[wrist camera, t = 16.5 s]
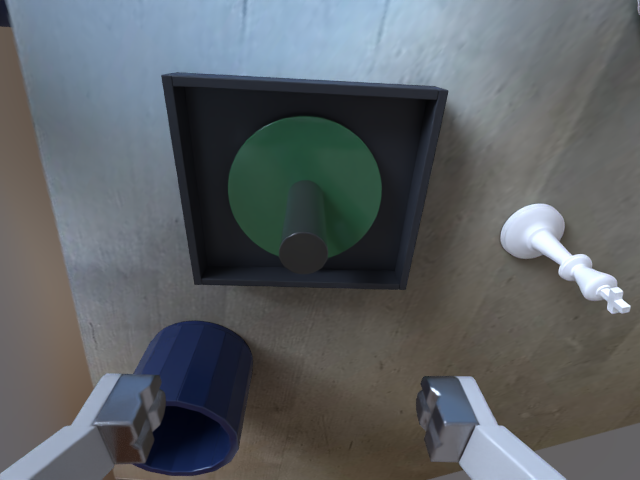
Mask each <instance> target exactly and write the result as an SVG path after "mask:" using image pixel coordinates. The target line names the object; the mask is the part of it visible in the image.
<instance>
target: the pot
mask: <svg viewBox="0 0 640 480" xmlns="http://www.w3.org/2000/svg"><path fill="white" fill-rule="evenodd" d="M252 367H253V357H252V353H251V350H250V348H249V347H248V345H247V344H246V342H245V341H244V340H243V339H242V338H241V337H240V336H238V335H237V334H236V333H234V332H233V331H231V330H229V329H227V328H225V327H223V326H220V325H218V324H214V323H210V322H204V321H185V322H179V323H175V324H173V325H170V326H168V327H166V328H164V329H163V330H161V331H160V332H159V333H158V334H157V335H156V336H155V337H154V339H153V340H152V341H151V342H150V344H149V346H148V348H147V349H146V351H145V353H144V355H143V357H142V358H141V360H140V362H139V364H138V366H137V368H136V369H135V371H134V373H133V374H144V375H160V378H161V381H162V383H161V386H160V389H161V390H163V391H164V392H165V396H166V407H165V412H164V416H163V419H162V422H161V424H160V426H158V427H157V428H156V429H155V430H154V431H153V432H152V433H153V436H154V442H153V445H152V447H151V450H150V453H149V455H148V458H147V460H146V463H139V464H133V465H135V466H137V467H140V468H142V469H144V470H146V471H150V472H155V473H160V474H165V475H171V476H194V475H200V474H204V473H208V472H213V471H216V470H218V469H219V468H221V467H223V466H224V465H226V464H228V463H229V462H231V461H232V459H233V457H234V456H235V454H236V453H237V451H238V449H239V444H240V439H241V433H242V428H243V422H244V416H245V411H246V405H247V400H248V394H249V389H250V383H251V377H252V372H253V368H252Z"/></svg>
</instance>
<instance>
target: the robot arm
mask: <svg viewBox="0 0 640 480" xmlns="http://www.w3.org/2000/svg"><path fill="white" fill-rule="evenodd" d="M161 383H162V381H161V378H160V375H144V374H105V375H104V376H103V377H102V378H101V379H100V380H99V382H98V383H97V385H96V387H95V388H94V390H93V391H92V393H91V395H90V396H89V398H88V400H87V401H86V403H85V404H84V406H83V407H82V409H81V411H80V412H79V414H78V415H77V417H76V418H75V420H74V422H73V423H72V425H71V426H65V427H63V428H62V429H61V430H59V431H58V432H56V433H55V434H54V435H52V436H51V437H50V438H49V439H47V440H46V441H44V442H43V443H42V444H40V445H39V446H37V447H36V448H35V449H33V450H32V451H31V452H29V453H28V454H27V455H25V456H24V457H22V458H21V459H20V460H18V461H17V462H16V463H14V464H13V465H11V466H10V467H9V468H8V469H6V470H5V471H3V472H2V473H1V474H0V480H102V479H103V478H104V477H105V476H106V475H107V473H108V472H109V471H110V470H111V469H112V468H113V467H114V464H139V463H146V460H147V458H148V455H149V453H150V450H151V447H152V445H153V442H154V436H153V433H152V432H153V431H154V430H155V429H156V428H157V427H158V426H160V424H161V422H162V419H163V416H164V412H165V407H166V396H165V392H164V391H163V390H161V389H160V386H161ZM421 387H422V390H421V391H420V392H419V393H418V394H417V398H416V412H417V417H418V421H419V424H420V425H421V426H422V428H423V429H424V430H425V431H426V434H425V437H424V441H425V444H426V448H427V451H428V454H429V457H430V461H431V462H459V465H460V466H461V467H462V468H463V470H464V471H465V472H466V473H467V474H468V476H469V477H470V478H471V479H472V480H567V479H566V478H565V477H563V476H562V475H561V474H560V473H559V472H558V471H556V470H555V469H554V468H553V467H552V466H550V465H549V464H548V463H547V462H546V461H544V460H543V459H542V458H541V457H540V456H539V455H537V454H536V453H535V452H534V451H533V450H532V449H530V448H529V447H528V446H527V445H526V444H524V443H523V442H522V441H521V440H520V439H518V438H517V437H516V436H515V435H514V434H513V433H511V432H510V431H509V430H508V429H507V428H505V427H504V426H498V424H497V422H496V420H495V418H494V416H493V414H492V412H491V410H490V408H489V406H488V404H487V402H486V400H485V398H484V396H483V394H482V393H481V391H480V389H479V387H478V385H477V383H476V381H475V379H474V378H473V377H472V376H424V377H423V378H422V381H421Z"/></svg>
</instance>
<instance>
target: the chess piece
mask: <svg viewBox="0 0 640 480" xmlns="http://www.w3.org/2000/svg"><path fill="white" fill-rule="evenodd" d="M564 229H565V223H564V219H563V217H562V215H561V214H560V213H559V212H558V211H557V210H556V209H555V208H554V207H552V206H550V205H547V204H533V205H529V206H526V207H524V208H522V209H520V210H518V211H517V212H515V213H514V214H513V215H512V216H511V217H510V218H509V219H508V220H507V221H506V223H505V224H504V226H503V228H502V231H501V236H500V240H501V244H502V246H503V248H504V249H505V250H506V251H507V252H508V253H510V254H511V255H513V256H515V257H517V258H522V259H530V258H535V257H538V256H541V255H545V256H547V257H548V258H550V259H551V260H553V261H555V262H556V263H557V264H559V265H560V268H559V275H560V277H561V278H563V279H565V280H568V281H576V282H577V284H578V285H579V287H580V290H581V292H582V294H583V296H584V297H585V298H586V299H588V300H590V301H600V300H603V299H605V300H606V301H608V305H607V310H608V311H609V312H611V313H612V314H615V313H619V312H621V313H626V312H630V307H631V306H630V305H628V304H627V303H626V302H625V301H623V300H622V296H623V291H622V290H621V289H620V288H618V287H617V280H616V279H615V278H614V277H613V276H611V275H609V274H606V273H602V272H599V271H596V270H594V269H591V268H592V261H591V260H590V258H589V257H588V256H586V255H583V254H577V255H573V256H572V255H571V254H570V253H569V252H568V251H567V250H566V248H565V247H564V246H563V245H562V244H561V243H560V242H559V241H560V239H561V237H562V235H563V233H564Z"/></svg>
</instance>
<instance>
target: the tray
mask: <svg viewBox="0 0 640 480" xmlns="http://www.w3.org/2000/svg"><path fill="white" fill-rule="evenodd" d="M161 76H162V83H163V89H164V95H165V102H166V108H167V114H168V121H169V127H170V133H171V140H172V146H173V152H174V158H175V165H176V171H177V177H178V184H179V190H180V196H181V203H182V209H183V215H184V222H185V228H186V234H187V240H188V247H189V253H190V259H191V266H192V272H193V278H194V284H195V285H234V286H273V287H313V288H352V289H391V290H398V289H399V290H406V286H407V281H408V277H409V272H410V267H411V263H412V258H413V253H414V249H415V244H416V239H417V235H418V230H419V225H420V221H421V216H422V212H423V207H424V202H425V198H426V193H427V188H428V184H429V179H430V174H431V170H432V165H433V160H434V156H435V151H436V146H437V142H438V137H439V133H440V128H441V123H442V119H443V114H444V109H445V105H446V100H447V95H448V90H445V89H442V88H439V87H435V86H420V85H401V84H382V83H364V82H345V81H326V80H308V79H289V78H271V77H252V76H233V75H215V74H196V73H178V72H177V73H170V74H165V75H161ZM296 115H311V116H319V117H323V118H327V119H330V120H333V121H335V122H338V123H340V124H342V125H343V126H345V127H347V128H348V129H350V130H351V131H352V132H354V133H355V134H356V135H357V136H358V137H359V138H360V139H361V140H362V141H363V142H364V143H365V144H366V146H367V147H368V148H369V150H370V151H371V153H372V155H373V157H374V158H375V160H376V163H377V165H378V168H379V171H380V176H381V181H382V197H381V203H380V208H379V211H378V213H377V216H376V218H375V220H374V222H373V224H372V226H371V227H370V229H369V230H368V232H367V233H366V234H365V235H364V236H363V237H362V238H361V239H360V240H359V241H358V242H357V243H356V244H355V245H353V246H352V247H350V248H349V249H348V250H346V251H344V252H342V253H340V254H338V255H335V256H333V257H330V258H327V261H326V263H325V264H324V266H323V267H322V268H320V269H319V270H318V271H316V272H313V273H310V274H297V273H294V272H292V271H290V270H288V269H287V268H286V267H285V266H284V265H283V264H282V262H281V260H280V258H279V256H276V255H274V254H271V253H269V252H267V251H266V250H264V249H262V248H261V247H259V246H258V245H257V244H255V243H254V242H253V241H252V240H251V239H250V238H249V237H248V236H247V235H246V234H245V233H244V232H243V230H242V229H241V228H240V226H239V225H238V223H237V221H236V219H235V217H234V215H233V213H232V210H231V206H230V203H229V197H228V179H229V173H230V169H231V166H232V163H233V161H234V159H235V156H236V154H237V153H238V151H239V150H240V148H241V147H242V145H243V144H244V143H245V142H246V141H247V139H248V138H249V137H250V136H251V135H253V134H254V133H255V132H256V131H257V130H259V129H260V128H262V127H263V126H265V125H267V124H269V123H271V122H273V121H275V120H278V119H282V118H285V117H290V116H296Z"/></svg>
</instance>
